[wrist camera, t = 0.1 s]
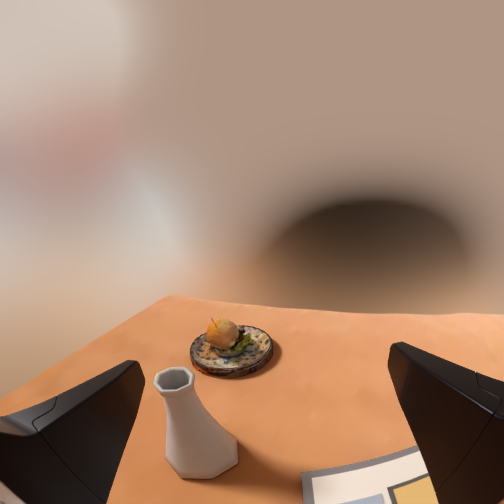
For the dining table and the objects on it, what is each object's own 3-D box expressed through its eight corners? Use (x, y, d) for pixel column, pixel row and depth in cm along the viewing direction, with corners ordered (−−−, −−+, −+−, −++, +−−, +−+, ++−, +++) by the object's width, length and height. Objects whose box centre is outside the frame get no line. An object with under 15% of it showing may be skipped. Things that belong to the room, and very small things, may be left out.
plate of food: (289, 352, 37) (287, 305, 35) (221, 392, 29) (210, 342, 28) (238, 326, 46) (233, 286, 44) (177, 353, 39) (166, 309, 37)
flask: (160, 435, 22) (127, 361, 20) (226, 419, 25) (208, 344, 22) (173, 488, 16) (128, 420, 13) (251, 468, 18) (235, 395, 16)
